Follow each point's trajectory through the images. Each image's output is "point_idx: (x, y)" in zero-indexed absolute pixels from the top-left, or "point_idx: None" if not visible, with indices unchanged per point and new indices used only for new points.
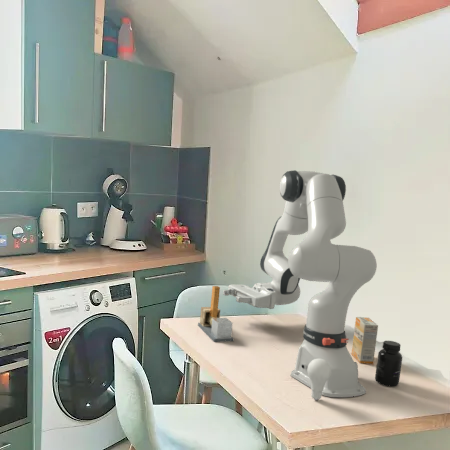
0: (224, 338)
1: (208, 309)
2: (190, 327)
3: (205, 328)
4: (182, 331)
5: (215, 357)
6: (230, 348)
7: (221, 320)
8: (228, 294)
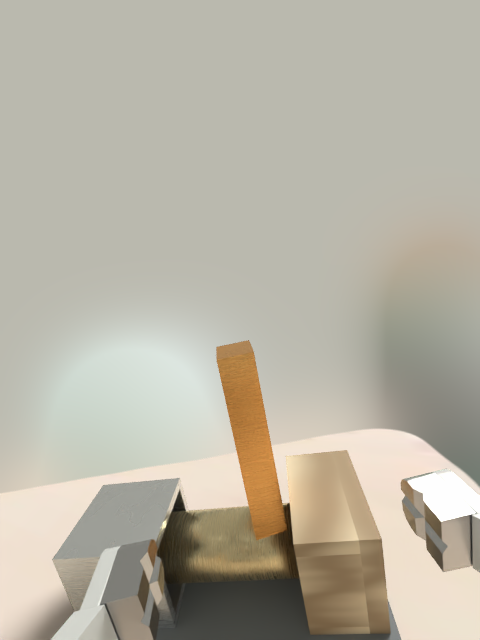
0: None
1: (302, 474)
2: None
3: None
4: None
5: (24, 509)
6: (26, 596)
7: (125, 509)
8: (438, 556)
